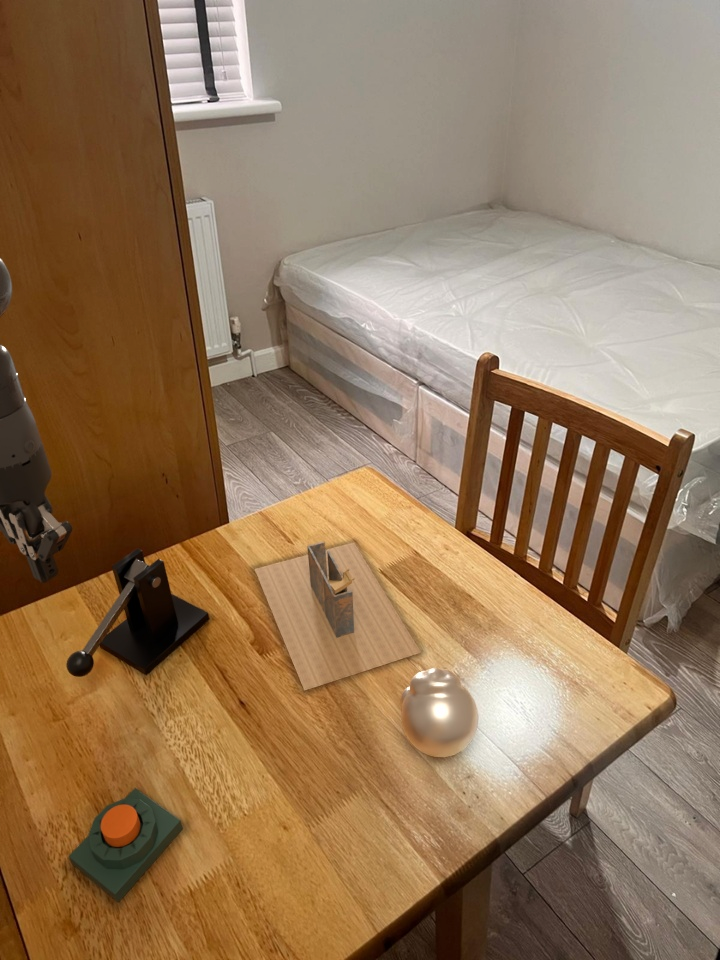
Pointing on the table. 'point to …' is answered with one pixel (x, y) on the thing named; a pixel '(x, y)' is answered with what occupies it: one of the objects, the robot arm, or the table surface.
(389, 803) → the table surface
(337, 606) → the architectural model on board
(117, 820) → the button
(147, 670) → the bracket
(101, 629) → the lever
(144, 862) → the button box
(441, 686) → the silver rounded lump
